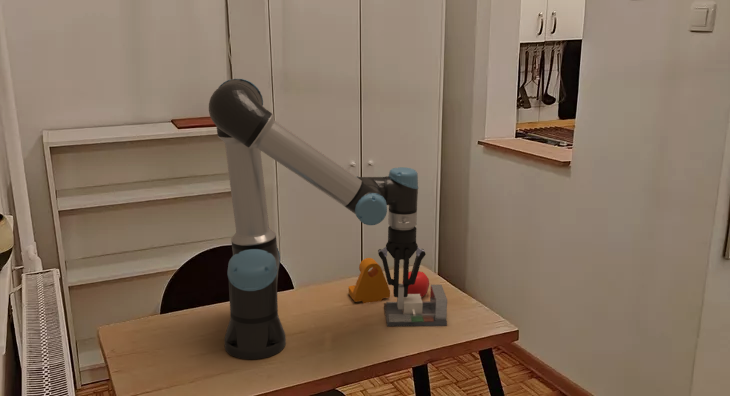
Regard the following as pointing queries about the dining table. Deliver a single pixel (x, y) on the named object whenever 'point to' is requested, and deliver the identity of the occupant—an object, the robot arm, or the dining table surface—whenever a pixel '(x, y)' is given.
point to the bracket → (370, 283)
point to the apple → (419, 284)
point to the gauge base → (431, 311)
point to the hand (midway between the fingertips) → (400, 307)
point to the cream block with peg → (412, 304)
